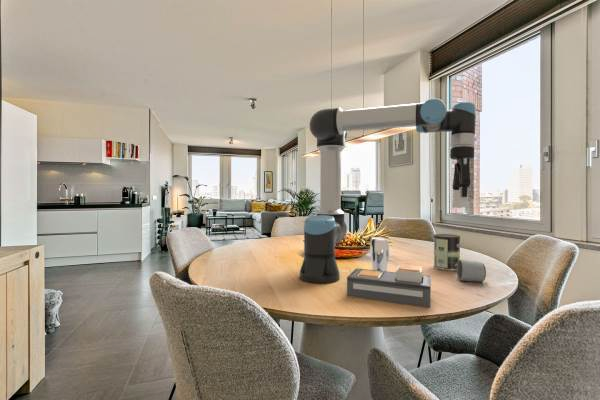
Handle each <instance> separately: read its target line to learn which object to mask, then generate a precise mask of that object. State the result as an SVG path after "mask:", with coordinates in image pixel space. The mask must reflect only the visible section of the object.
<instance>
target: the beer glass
mask: <svg viewBox="0 0 600 400" xmlns="http://www.w3.org/2000/svg"><path fill="white" fill-rule="evenodd" d="M389 241H390V240H389V238H387V237H371V238H370V245H369V246H370V248H369V251H370V261H371V265H372V266H371V268H372V269H371V270H377V271H387V272H388V262H389V258H390V257H389V256H390V242H389Z"/></svg>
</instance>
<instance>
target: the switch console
mask: <svg viewBox="0 0 600 400" xmlns="http://www.w3.org/2000/svg"><path fill="white" fill-rule="evenodd" d="M362 270H367V269H365V268H355V269H354V270H352V272H350V274H349V275H348V276H347V277H346V296H347V297H352V298H359V299H365V300H373V301H379V302H387V303H393V304H394V303H395V304H400V305H401V304H403V305H407V306H408V305H409V306H415V307H416V306H418V307H422V308H423V307H424V308H431V295H432V294H431V290H432V289H431V285H432V279H431V278H432V276H431V275H424V274H422V281H421V283H416V282H407V281H398V280H396V271H395V272H394V271H388V270H387V271H379V272H381V273H383V276H382V277H381V279H377V278H368V277H359V276H357V275H358V274H359V273H360V272H361V271H362ZM368 270H369V271H377V270H372V269H368Z"/></svg>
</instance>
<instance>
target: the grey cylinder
mask: <svg viewBox="0 0 600 400" xmlns="http://www.w3.org/2000/svg"><path fill="white" fill-rule="evenodd" d="M456 275H457V279H458V280H459V281H462V282H476V283H481V282H484V281H485V280H486V276H487V267H486V265H485V264H484V263H483V262H482V261H481V262H480V261H475V260H467V259H460V260H459V261H458V264H457V270H456Z"/></svg>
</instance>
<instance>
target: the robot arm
mask: <svg viewBox="0 0 600 400" xmlns="http://www.w3.org/2000/svg"><path fill="white" fill-rule="evenodd" d="M476 108H477V107H476V104H475V103H474V102H471V101H462V102H457V103H454V104H453V105H452V108H451V109H448V110H447V107H446V103H445V102H444V101H443V100H442V99H440V98H436V97H435V98H434V97H433V98H429V99H427V100H426V101H424V102H417V103H409V104H397V105H388V106H386V105H385V106H377V107H376V106H375V107H366V108H354V109H343V108H341V107H335V108H324V109H320V110H318V111H316V112H315V113H314V114H313V115H312V116H311V118H310V119H309V120H310V121H309V131H310V133H311V135H312V136H313V137H314V138H315V139H316V149H317V150H318V151H319V152H320V164H319V165H320V171H319V172H320V175H319V178H320V182H319V183H320V185H319V187H320V190H319V191H320V193H319V194H320V195H319V198H320V199H319V202H320V204H319V205H320V206H319V207H320V209H318V211H317V212H316V215H311V216H308V217H306V218H305V220H304V222H303V223H304V225H303V235H304V236H303V243H304V244H303V247H304V249H303V250H304V251H303V252H304V254H303V255H304V256H303V259H302V263H301V266H300V269H299V279H300V280H301V281H304V282H307V283H311V284H312V283H313V284H328V283H334V282H337V281H339V280H340V269H339V267H338V264H337V261H336V245H337V244H339V243H340V242H342V240H344V238H345V237H346V235H347V232H348V226H347V223H346V222H345V211H343V210H342V207H341V206H342V205H341V202H342V201H341V199H342V161H341V160H342V151H344V150H345V147H346V146H345V145H346V144H345V141H346V140H347V137H348V132H353V131H354V132H355V131H370V130H382V129H396V128H397V129H398V128H399V129H400V128H409V127H412V128H413V127H416V128H415V129H416V130H415V131H416V132H417V133H421V134H422V133H425V134H428V133H445V132H446V133H447V132H451V133H450V134H451V135H450V147H451V148H450V149H449V151H450V152H449V153H450V154H449V158H450V159H452V160H455V161H456V163H454V171H453V172H454V173H453V179H452V186H451V188H452V190H453V191H452V206H451V207H452V208H458V209H460V208H469V191H470V190H469V189H470V188H469V187H470V185H471V170H470V167H471V166H470V162H471V161H470V160H473V159H474V157H475V148H474V146H475V145H476V144H475V141H477V137H476V123H477V122H476V121H477V111H476V110H477V109H476Z"/></svg>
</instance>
